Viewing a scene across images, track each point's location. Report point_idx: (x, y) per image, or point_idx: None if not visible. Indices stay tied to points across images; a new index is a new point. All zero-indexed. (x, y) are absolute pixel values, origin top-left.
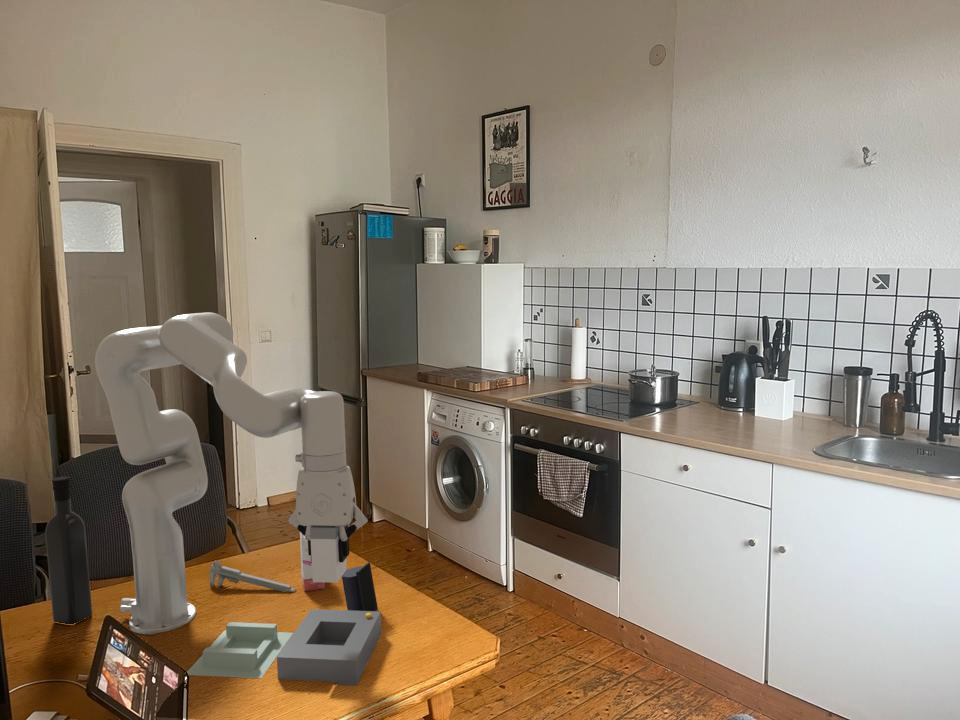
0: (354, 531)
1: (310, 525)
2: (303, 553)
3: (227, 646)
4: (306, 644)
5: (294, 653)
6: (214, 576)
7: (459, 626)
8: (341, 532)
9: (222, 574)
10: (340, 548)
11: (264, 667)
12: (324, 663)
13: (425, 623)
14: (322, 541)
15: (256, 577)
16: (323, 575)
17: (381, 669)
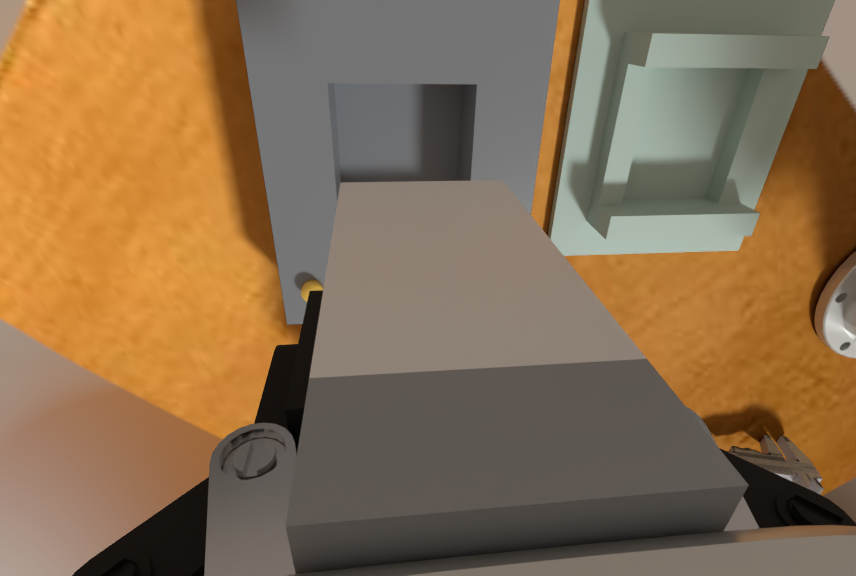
0: (102, 555)
1: (757, 536)
2: None
3: (726, 154)
4: (473, 81)
5: (501, 4)
6: (791, 456)
7: (85, 346)
8: (269, 512)
9: (778, 461)
10: (307, 358)
11: (595, 48)
12: None
13: (193, 349)
14: (483, 345)
15: None
16: (435, 194)
17: (212, 85)
